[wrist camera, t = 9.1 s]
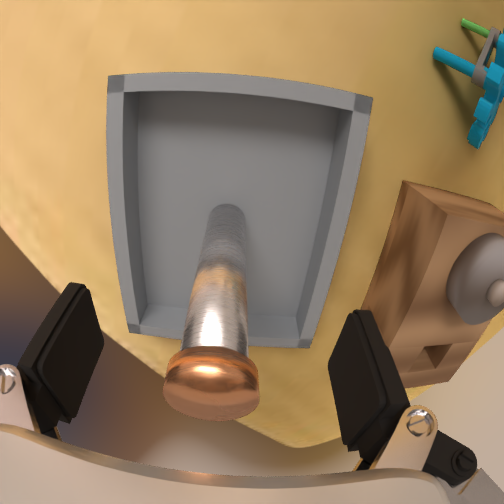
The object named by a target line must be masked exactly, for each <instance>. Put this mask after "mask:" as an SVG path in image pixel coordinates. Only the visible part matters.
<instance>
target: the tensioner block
mask: <svg viewBox="0 0 504 504" xmlns="http://www.w3.org/2000/svg"><path fill="white" fill-rule="evenodd" d="M503 308H504V213H503V212H501V211H500V210H498V209H497V208H496V207H494V206H493V205H491V204H490V203H487V202H483V201H480V200H477V199H473V198H470V197H467V196H463V195H459V194H456V193H452V192H448V191H445V190H441V189H437V188H433V187H429V186H425V185H421V184H416V183H412V182H408V181H403V182H402V186H401V190H400V194H399V197H398V201H397V204H396V208H395V211H394V215H393V218H392V222H391V225H390V228H389V231H388V235H387V238H386V241H385V244H384V247H383V250H382V253H381V256H380V259H379V262H378V265H377V268H376V270H375V273H374V276H373V279H372V281H371V284H370V287H369V289H368V292H367V295H366V297H365V300H364V302H363V305H362V307H361V310H370V311H371V312H372V314H373V316H374V319H375V321H376V323H377V326H378V328H379V331H380V333H381V335H382V338H383V340H384V343H385V345H386V346H387V347H388V348H389V350H390V352H391V355H392V357H393V360H394V362H395V365H396V367H397V370H398V373H399V375H400V378H401V381H402V383H403V386H404V388H411V387H418V386H425V385H431V384H437V383H442V382H448V381H449V380H450V379H451V377H452V376H453V375H454V374H455V372H456V371H457V370H458V368H459V367H460V366H461V364H462V363H463V362H464V360H465V359H466V357H467V356H468V355H469V353H470V352H471V350H472V349H473V347H474V346H475V344H476V343H477V341H478V340H479V338H480V337H481V335H482V334H483V332H484V331H485V329H486V328H487V326H488V324H489V323H490V321H491V319H492V318H493V317H494V316H496V315H497V314H498V313H499V312H500V311H501V310H502V309H503Z"/></svg>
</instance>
